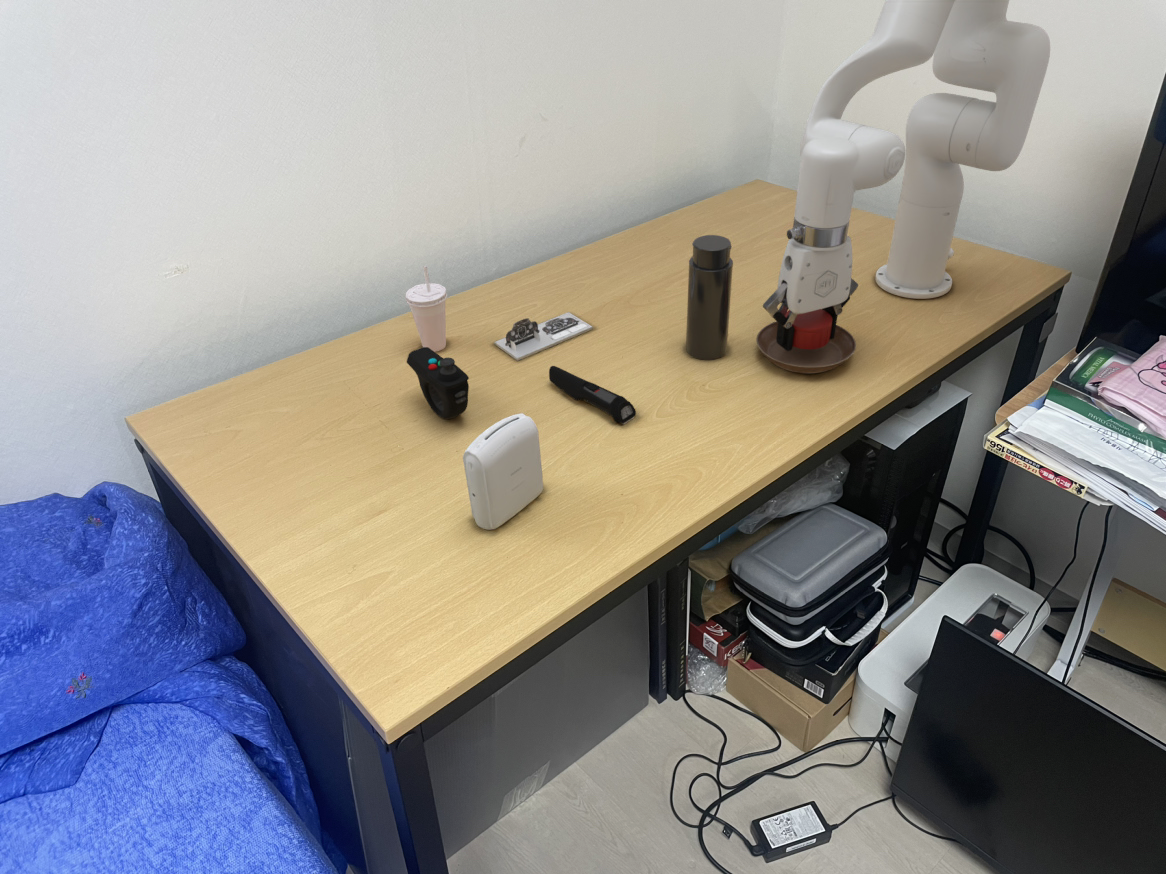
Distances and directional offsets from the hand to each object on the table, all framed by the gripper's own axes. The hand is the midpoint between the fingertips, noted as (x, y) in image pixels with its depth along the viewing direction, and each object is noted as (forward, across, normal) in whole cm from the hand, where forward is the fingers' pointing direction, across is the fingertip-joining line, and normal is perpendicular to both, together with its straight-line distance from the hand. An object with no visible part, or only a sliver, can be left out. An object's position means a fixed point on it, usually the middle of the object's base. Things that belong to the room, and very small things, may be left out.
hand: (805, 340), depth 133 cm
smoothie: (+3, -50, +30) cm, 59 cm away
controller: (+3, -54, +11) cm, 55 cm away
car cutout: (+3, -33, +24) cm, 41 cm away
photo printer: (+3, -53, -13) cm, 55 cm away
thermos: (+3, -12, +9) cm, 15 cm away
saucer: (+3, 0, 0) cm, 3 cm away
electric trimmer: (+3, -34, +4) cm, 35 cm away
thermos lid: (0, 0, 0) cm, 0 cm away
